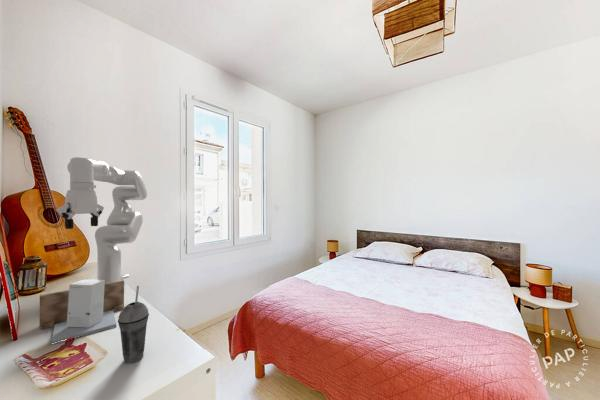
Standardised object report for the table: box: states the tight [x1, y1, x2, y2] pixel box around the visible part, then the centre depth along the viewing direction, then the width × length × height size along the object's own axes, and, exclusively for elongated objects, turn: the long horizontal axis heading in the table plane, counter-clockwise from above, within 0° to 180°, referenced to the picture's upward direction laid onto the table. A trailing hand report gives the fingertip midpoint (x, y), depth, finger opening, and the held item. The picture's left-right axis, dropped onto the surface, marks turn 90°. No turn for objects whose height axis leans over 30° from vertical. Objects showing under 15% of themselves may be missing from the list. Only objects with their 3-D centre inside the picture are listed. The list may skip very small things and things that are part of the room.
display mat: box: [50, 310, 117, 343], centre depth 84 cm, size 16×14×1 cm
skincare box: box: [66, 279, 105, 328], centre depth 85 cm, size 8×6×15 cm
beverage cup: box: [117, 285, 150, 365], centre depth 68 cm, size 7×7×20 cm
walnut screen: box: [39, 279, 125, 330], centre depth 93 cm, size 24×6×11 cm, turn 132°
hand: (82, 227), depth 102 cm, fingers open, 9 cm apart
